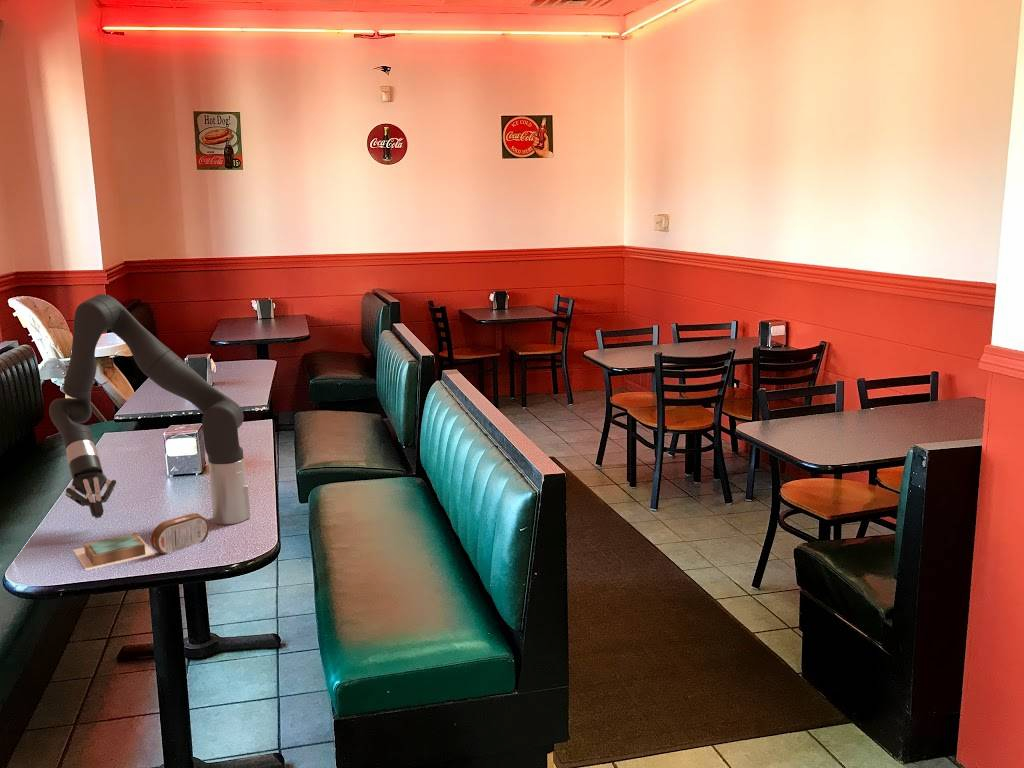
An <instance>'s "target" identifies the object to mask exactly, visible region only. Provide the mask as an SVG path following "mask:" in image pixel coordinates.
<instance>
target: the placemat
mask: <svg viewBox="0 0 1024 768" xmlns="http://www.w3.org/2000/svg"><path fill="white" fill-rule="evenodd" d="M137 537H138V538H139V539H140V540H141V541H142V542H143V544H144V545H145V555H140V556H136V557H131V558H127V559H123V560H118V561H114V562H110V563H105V564H101V565H96V566H93V564H92V563H91V561H90V560H89V558H88V557H87V555H86V554H85V549H84V546H83V547H79V548H75V549H72V551H73V552H74V554H75V555H76V557H77V559H78V560H79V562H80V563H81V565H82V566H83V568H84V570H85V571H91V570H95V569H99V568H103V567H108V566H112V565H116V564H120V563H125V562H129V561H133V560H138V559H142V558H143V559H144V558H147V557H151V556H155V555H156V553H155V551H153V550H152V548H151V547H150V546H149V545H148V544H147V542H145V541H144V539H143V538H142V537H141V535H137Z"/></svg>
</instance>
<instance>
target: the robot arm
mask: <svg viewBox="0 0 1024 768" xmlns="http://www.w3.org/2000/svg"><path fill="white" fill-rule="evenodd" d="M108 330H109V331H111V332H112V333H114V335H116V336H117V337H119V338H120V339H121V340H122V341H123V342H124V344H126V346H127V348H128V349H129V350H130V353H131V354H132V357H133V359H134V361H135V363H136V365H137V367H138V369H139V370H140V371H141V372H142V373H143V374H144V375H145V376H146V377H148V378H149V379H150V380H152V382H154V383H155V384H156V385H158V386H159V387H160V388H162V389H163V390H165V391H167V392H169V393H171V394H173V395H175V396H177V397H180V398H182V399H184V400H186V401H188V402H190V403H191V404H192V405H194V406H195V407H196V408H197V409H198V410H199V411H201V412H202V413H203V416H202V420H201V421H202V423H201V424H202V427H201V428H202V434H203V444H204V450H205V453H206V455H207V461H208V470H209V473H208V474H209V484H210V496H211V509H212V520H213V523H215V524H219V525H233V524H234V525H235V524H238V523H242V522H244V521H245V520H247V519H251V506H250V494H249V493H250V492H249V485H247V484H246V473H245V460H244V459H245V458H244V450H243V447H241V444H240V440H239V428H240V427H241V426H242V424H243V422H244V418H245V417H244V412H243V409H242V408H241V406H240V405H239V404H238V403H237V402H236V401H234V400H233V399H232V398H231V397H228V396H227V395H225V394H224V393H223V392H222V391H220V390H218V389H217V388H215V386H213V385H211V384H210V383H209V382H208V381H206V380H205V378H203V377H202V376H201V375H200V373H198V372H196V371H195V370H194V368H192V367H191V366H189V365H188V364H187V363H186V362H185V361H184V360H183V359H182V358H181V357H180V356H179V355H177V354H176V353H175V352H174V351H173V350H171V349H170V348H169V347H168V346H166V345H165V344H164V343H162V341H161V340H159V339H158V338H157V337H156V336H155V335H153V334H152V333H151V332H150V331H149V330H147V328H145V327H144V326H143V325H142V324H141V323H140V322H139V321H138V320H137V319H136V318H135V317H134V316H133V315H132V314H131V313H130V311H129V310H127V308H126V307H125V306H124V305H123V304H122V303H121V302H120V301H118V299H116V298H115V297H113V296H111V295H109V294H105V293H101V294H97V295H94V296H92V297H90V298H88V299H86V300H85V301H82V302H80V304H78V305H77V307H76V309H75V312H74V316H73V330H72V331H73V332H72V343H71V352H70V359H69V362H68V367H67V370H66V374H65V377H64V381H63V385H62V389H63V392H64V393H65V394H66V395H67V396H69V397H70V398H63V397H61V398H56V399H54V400H52V402H50V405H49V406H48V407H49V408H48V413H49V417H50V419H51V422H52V423H53V426H55V428H56V429H57V431H58V432H59V434H60V435H61V437H62V440H63V443H64V447H65V450H66V452H65V453H66V458H67V464H68V467H69V470H70V474H71V478H72V482H71V486H70V487H66V489H65V496H66V497H67V498H69V499H71V500H72V501H74V502H75V503H76V504H79V505H80V506H81V507H86V506H87V507H89V510H90V514H91V515H90V516H91V517H92V518H93V517H94V519H100V518H102V516H103V515H104V506H103V503H106V502H107V501H108V500H109V498H110V496H111V495H112V493H113V491H114V490H115V488H116V485H117V480H116V479H113V480H110V479H108V477H107V475H105V473H104V472H103V468H102V464H101V460H100V457H99V452H98V449H97V447H96V446H95V442H94V438H93V435H92V432H91V429H90V428H89V426H88V425H85V424H84V423H87V422H88V421H89V420H90V419H91V417H92V414H93V413H92V412H93V410H92V401H91V400H92V389H93V386H94V382H95V379H96V374H97V361H96V356H95V353H96V349H97V348H96V347H97V344H98V342H99V340H100V339H101V336H102V334H103V333H105V332H106V331H108ZM105 484H106V485H105ZM104 487H106V490H105V491H104V493H103V495H102V494H101V491H102V490H103V489H104Z"/></svg>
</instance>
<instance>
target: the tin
mask: <svg viewBox="0 0 1024 768" xmlns="http://www.w3.org/2000/svg"><path fill="white" fill-rule="evenodd" d="M209 524H210V523H209V521H208V520H207V519H206V518H205V517H204V516H202V515H201V514H199V513H196V512H193V513H188V514H185V515H182V516H178V517H175V518H172V519H171V518H170V519H168V520H165V521H162V522H161V523H159V524H158V525H157V526H156V527H154V529H153V530H152V531H153V532H152V533H151V537H150V544H151V547H152V548H153V550H154V551H156V552H157V553H161V554H162V555H168V554H170V553H174V552H176V551H179V550H183V549H185V548H189V547H192V546H194V545H197V544H200V543H204V541H205V540H206V539H207V537H208V535H209V530H210V525H209Z"/></svg>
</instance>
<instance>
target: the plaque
mask: <svg viewBox="0 0 1024 768" xmlns="http://www.w3.org/2000/svg"><path fill="white" fill-rule="evenodd" d="M137 536H138V535H137V534H136V533H135V532H134V533H128V534H125V535H119V536H115V537H111V538H105V539H99V540H96V541H91V542H86V543H84V544H83V547H84V549H85V554H86V555H87V557H88V558H89V560H90V561H91V563H92V564H93V566H96V565H101V564H105V563H110V562H114V561H118V560H123V559H127V558H131V557H136V556H140V555H145V545H144V544H143V542H142V541H141V540H140V539H139V538H138V537H137Z"/></svg>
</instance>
